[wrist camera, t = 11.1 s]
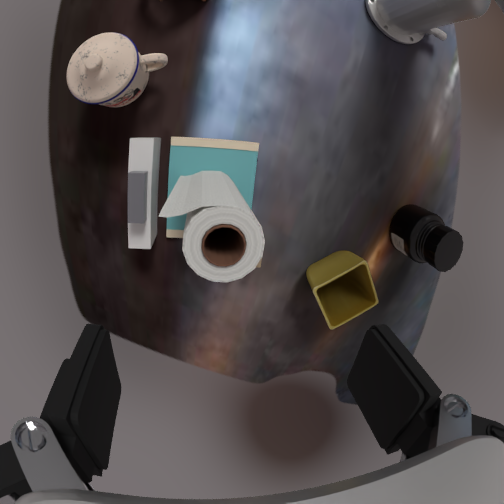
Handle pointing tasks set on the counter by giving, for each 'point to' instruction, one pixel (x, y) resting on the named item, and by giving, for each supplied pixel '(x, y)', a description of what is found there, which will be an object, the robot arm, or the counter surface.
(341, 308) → the flower pot
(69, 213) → the counter surface
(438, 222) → the ink bottle
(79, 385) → the robot arm
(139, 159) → the block
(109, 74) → the teacup with lid
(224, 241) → the paper towel roll
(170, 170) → the pad
